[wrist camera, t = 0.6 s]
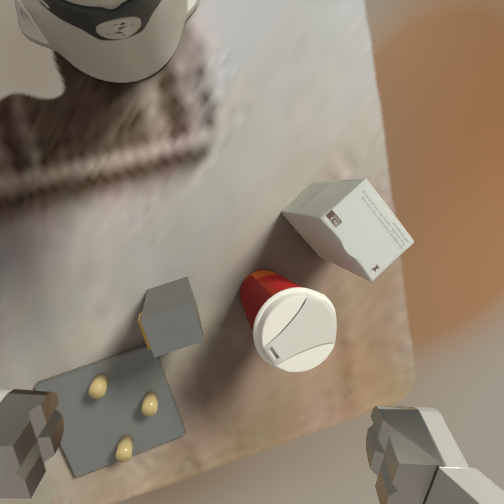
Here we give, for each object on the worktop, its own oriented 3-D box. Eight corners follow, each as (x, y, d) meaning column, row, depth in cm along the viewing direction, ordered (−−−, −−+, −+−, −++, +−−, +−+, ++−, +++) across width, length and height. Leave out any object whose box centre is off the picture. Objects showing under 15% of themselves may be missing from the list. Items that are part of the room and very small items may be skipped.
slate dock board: (37, 382, 45) (26, 397, 42) (152, 341, 47) (151, 353, 44) (77, 471, 48) (70, 493, 44) (185, 429, 50) (186, 447, 46)
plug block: (143, 291, 46) (134, 321, 35) (187, 276, 47) (192, 302, 36) (154, 320, 47) (149, 359, 36) (197, 306, 48) (204, 339, 37)
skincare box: (349, 227, 50) (421, 243, 36) (316, 258, 50) (374, 286, 35) (311, 178, 48) (370, 174, 34) (276, 210, 48) (320, 220, 33)
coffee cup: (252, 334, 50) (286, 394, 35) (218, 284, 48) (238, 326, 33) (304, 298, 50) (358, 342, 36) (273, 247, 48) (316, 272, 34)
